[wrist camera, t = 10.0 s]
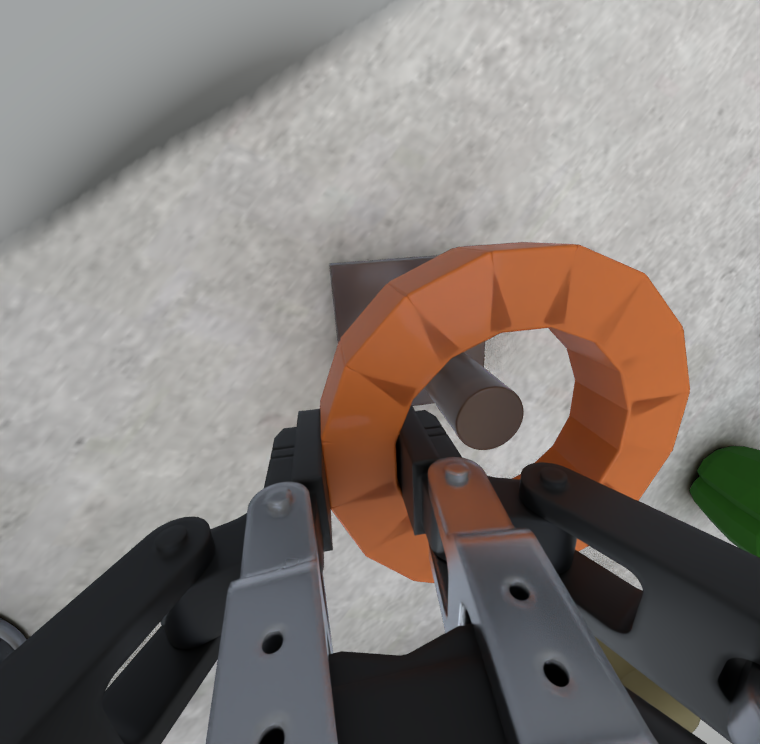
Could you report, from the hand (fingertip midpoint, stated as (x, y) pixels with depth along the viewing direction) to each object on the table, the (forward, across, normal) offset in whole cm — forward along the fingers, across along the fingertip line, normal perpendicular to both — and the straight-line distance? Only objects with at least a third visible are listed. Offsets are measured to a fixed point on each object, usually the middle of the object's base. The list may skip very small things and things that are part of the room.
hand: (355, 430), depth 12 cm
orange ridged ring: (0, -4, 0) cm, 5 cm away
